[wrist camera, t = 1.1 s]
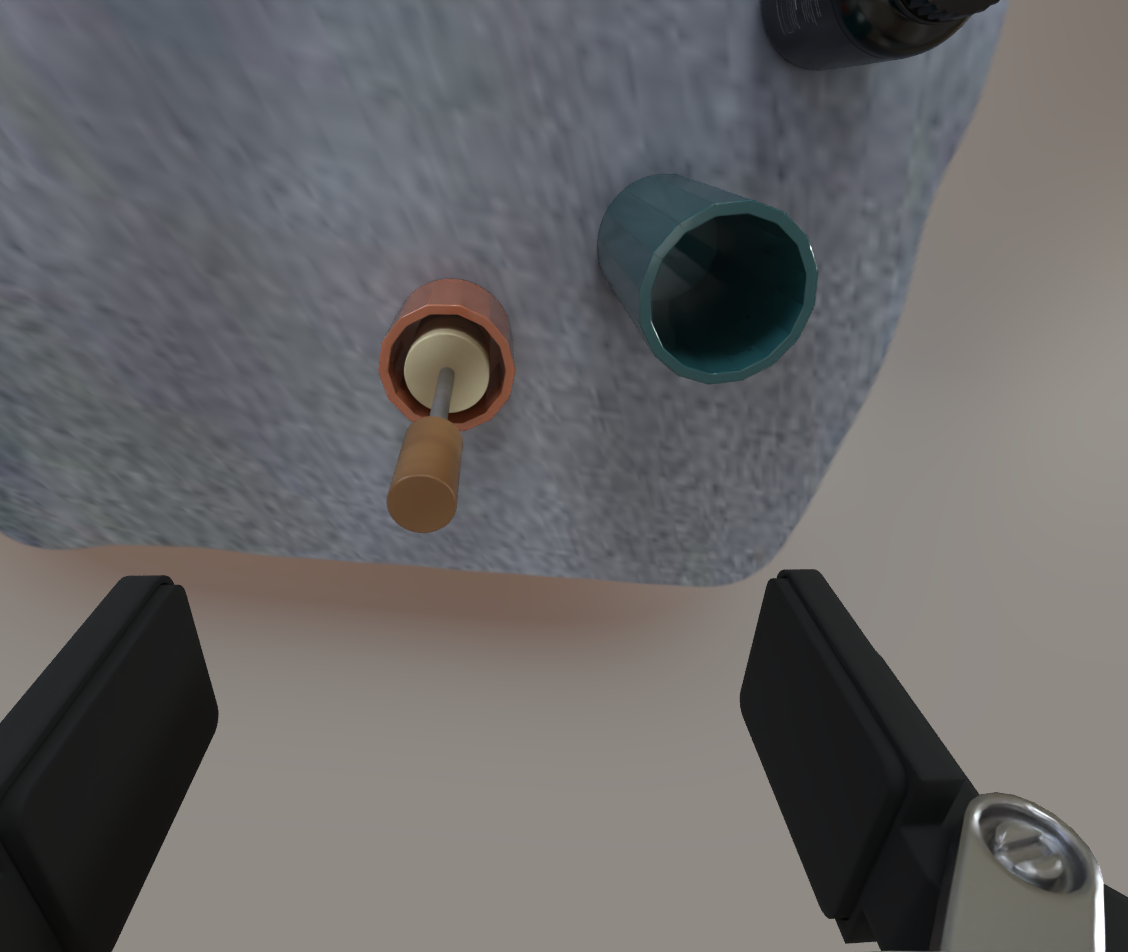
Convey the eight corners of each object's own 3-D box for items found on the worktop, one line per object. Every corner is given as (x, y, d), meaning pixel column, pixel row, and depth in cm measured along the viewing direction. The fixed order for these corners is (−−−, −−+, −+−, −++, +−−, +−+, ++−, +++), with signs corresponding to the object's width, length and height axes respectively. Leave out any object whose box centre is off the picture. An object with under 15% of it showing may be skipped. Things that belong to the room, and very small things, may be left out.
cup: (571, 252, 38) (602, 311, 27) (659, 143, 36) (734, 157, 24) (660, 330, 41) (723, 415, 29) (748, 234, 38) (853, 285, 27)
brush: (401, 345, 39) (331, 515, 23) (444, 287, 38) (403, 424, 21) (461, 388, 41) (437, 575, 24) (505, 334, 39) (510, 494, 23)
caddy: (371, 347, 40) (352, 382, 34) (440, 251, 37) (431, 274, 32) (466, 412, 42) (461, 455, 37) (535, 327, 40) (541, 360, 35)
